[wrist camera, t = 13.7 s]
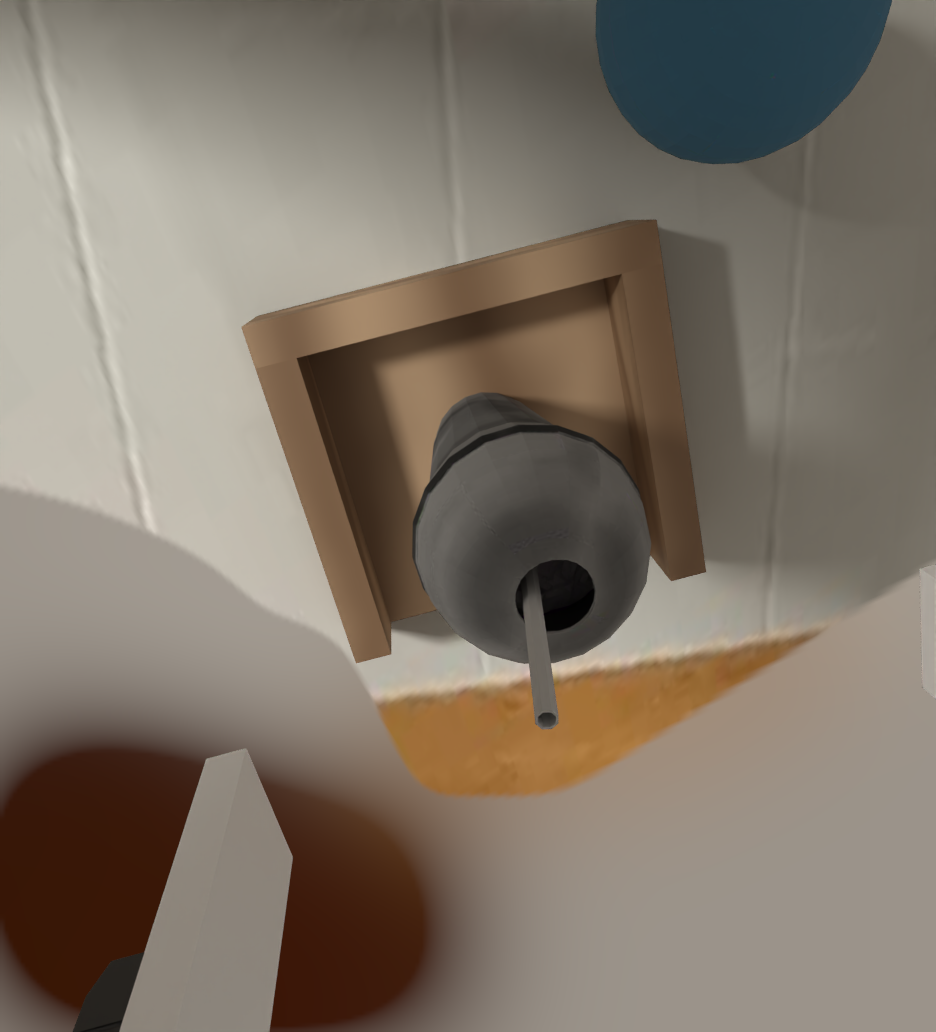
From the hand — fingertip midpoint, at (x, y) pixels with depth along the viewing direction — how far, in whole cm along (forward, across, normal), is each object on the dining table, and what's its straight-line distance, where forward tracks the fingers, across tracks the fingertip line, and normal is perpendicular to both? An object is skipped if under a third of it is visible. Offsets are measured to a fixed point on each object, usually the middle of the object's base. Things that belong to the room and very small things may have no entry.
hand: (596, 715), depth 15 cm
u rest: (+22, 0, 0) cm, 22 cm away
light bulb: (+22, +10, +13) cm, 27 cm away
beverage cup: (+21, 0, 0) cm, 21 cm away
